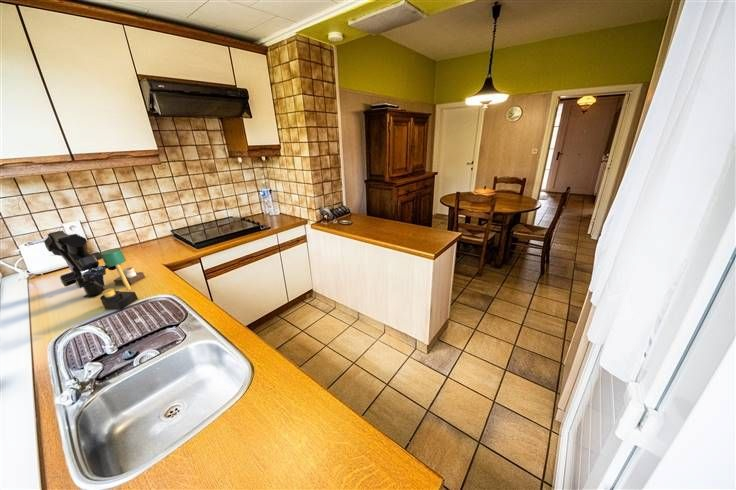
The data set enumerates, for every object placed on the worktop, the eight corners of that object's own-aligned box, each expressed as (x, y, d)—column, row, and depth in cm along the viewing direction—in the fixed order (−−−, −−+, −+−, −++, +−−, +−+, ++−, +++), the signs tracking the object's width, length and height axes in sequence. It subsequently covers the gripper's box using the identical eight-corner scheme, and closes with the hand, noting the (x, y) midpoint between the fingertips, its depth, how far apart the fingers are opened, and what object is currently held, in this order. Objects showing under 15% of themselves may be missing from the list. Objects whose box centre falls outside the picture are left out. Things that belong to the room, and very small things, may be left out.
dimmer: (123, 278, 135) (119, 270, 133) (131, 273, 139) (127, 266, 137) (130, 278, 135) (127, 270, 133) (138, 273, 139) (135, 266, 137)
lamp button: (102, 297, 113) (100, 292, 112) (110, 293, 117) (108, 288, 116) (110, 298, 113) (107, 293, 112) (118, 293, 116) (115, 288, 115)
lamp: (115, 293, 116) (95, 254, 108) (129, 285, 122) (111, 248, 114) (128, 293, 115) (109, 254, 108) (141, 285, 121) (124, 248, 114)
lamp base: (102, 310, 114) (95, 299, 112) (121, 298, 122) (115, 287, 120) (120, 311, 114) (114, 299, 111) (138, 299, 122) (132, 288, 119)
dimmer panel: (115, 285, 135) (112, 280, 134) (130, 276, 143) (128, 271, 141) (133, 285, 134) (130, 280, 132) (147, 276, 142) (145, 271, 140)
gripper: (48, 258, 103) (71, 288, 102) (109, 241, 118) (129, 267, 117) (53, 271, 110) (75, 300, 109) (110, 254, 125) (129, 279, 124)
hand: (103, 286), depth 115 cm, fingers closed
